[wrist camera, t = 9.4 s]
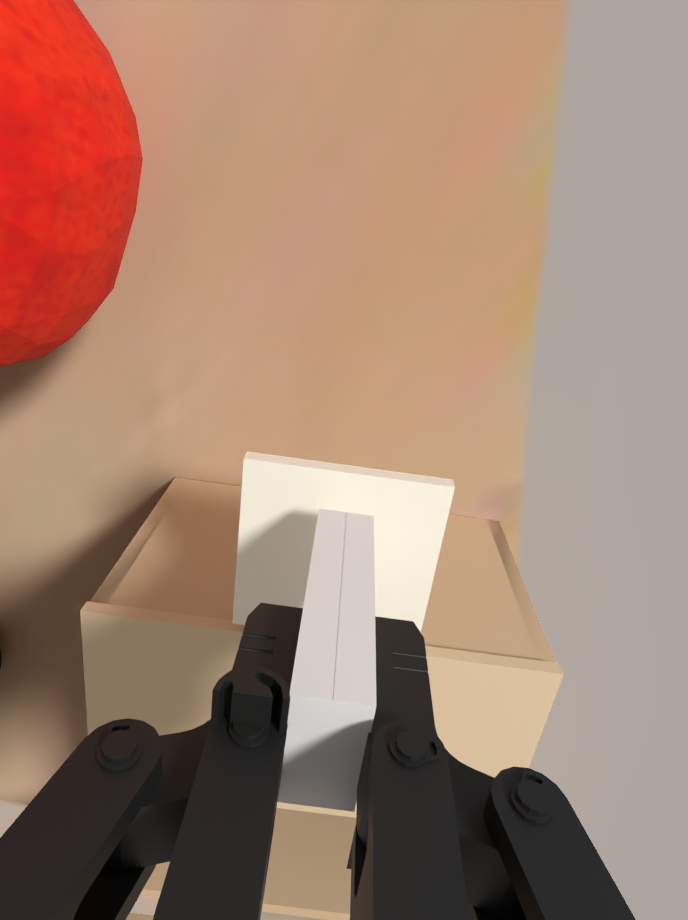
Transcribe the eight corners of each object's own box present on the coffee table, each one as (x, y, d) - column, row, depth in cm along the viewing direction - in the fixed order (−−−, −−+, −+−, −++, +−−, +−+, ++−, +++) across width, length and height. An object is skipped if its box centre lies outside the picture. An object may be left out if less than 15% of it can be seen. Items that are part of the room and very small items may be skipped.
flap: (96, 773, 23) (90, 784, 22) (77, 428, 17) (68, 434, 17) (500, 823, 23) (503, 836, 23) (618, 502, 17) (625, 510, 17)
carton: (171, 717, 35) (104, 893, 26) (175, 477, 29) (88, 603, 20) (435, 751, 36) (457, 936, 27) (498, 521, 29) (556, 665, 20)
